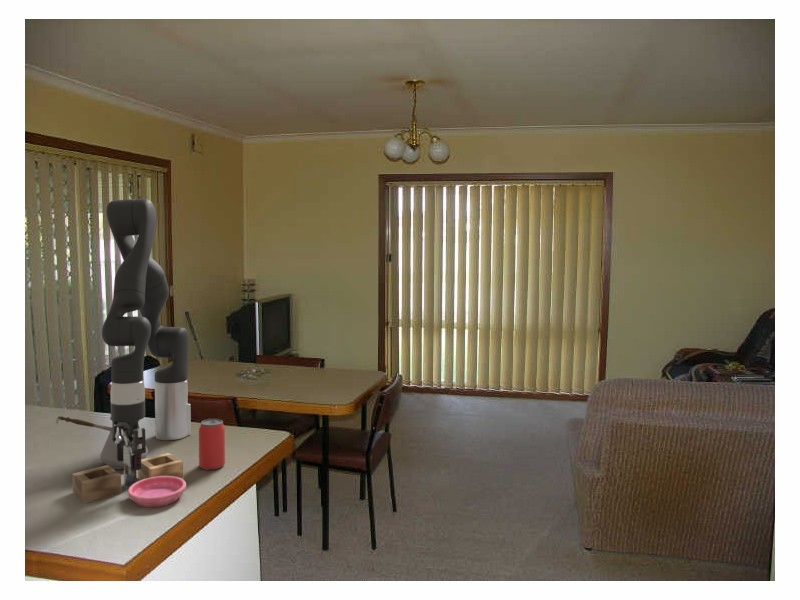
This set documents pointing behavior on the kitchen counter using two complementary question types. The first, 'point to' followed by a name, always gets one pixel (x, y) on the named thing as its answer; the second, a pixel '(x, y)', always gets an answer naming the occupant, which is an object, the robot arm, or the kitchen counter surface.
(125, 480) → the pin
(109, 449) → the coffee pot
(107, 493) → the walnut block
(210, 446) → the beer can
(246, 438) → the kitchen counter surface
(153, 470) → the oak block
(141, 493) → the saucer
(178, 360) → the robot arm
